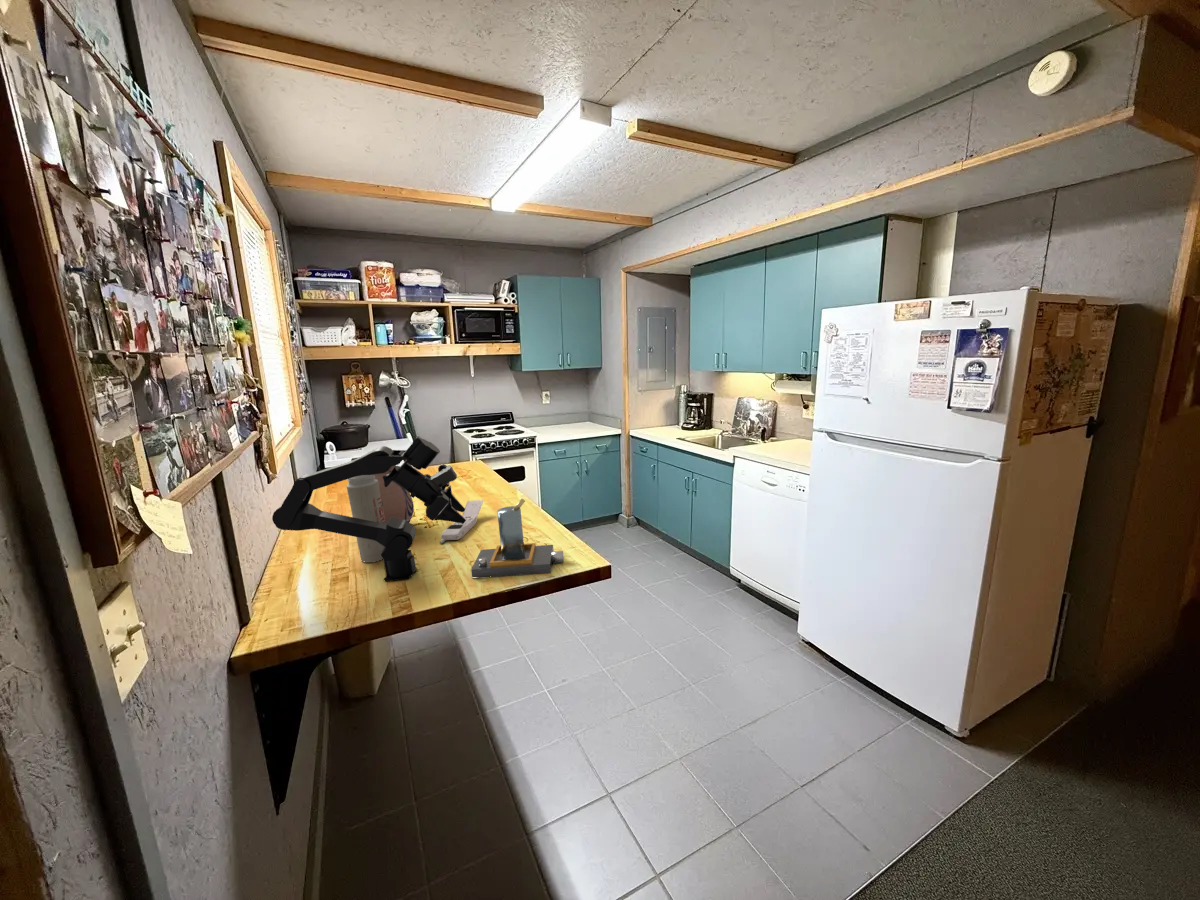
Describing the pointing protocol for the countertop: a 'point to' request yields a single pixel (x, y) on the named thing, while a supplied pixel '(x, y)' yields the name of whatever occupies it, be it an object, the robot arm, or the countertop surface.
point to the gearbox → (516, 562)
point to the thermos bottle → (366, 512)
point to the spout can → (511, 532)
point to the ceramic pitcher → (395, 499)
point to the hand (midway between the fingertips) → (464, 516)
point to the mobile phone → (461, 529)
